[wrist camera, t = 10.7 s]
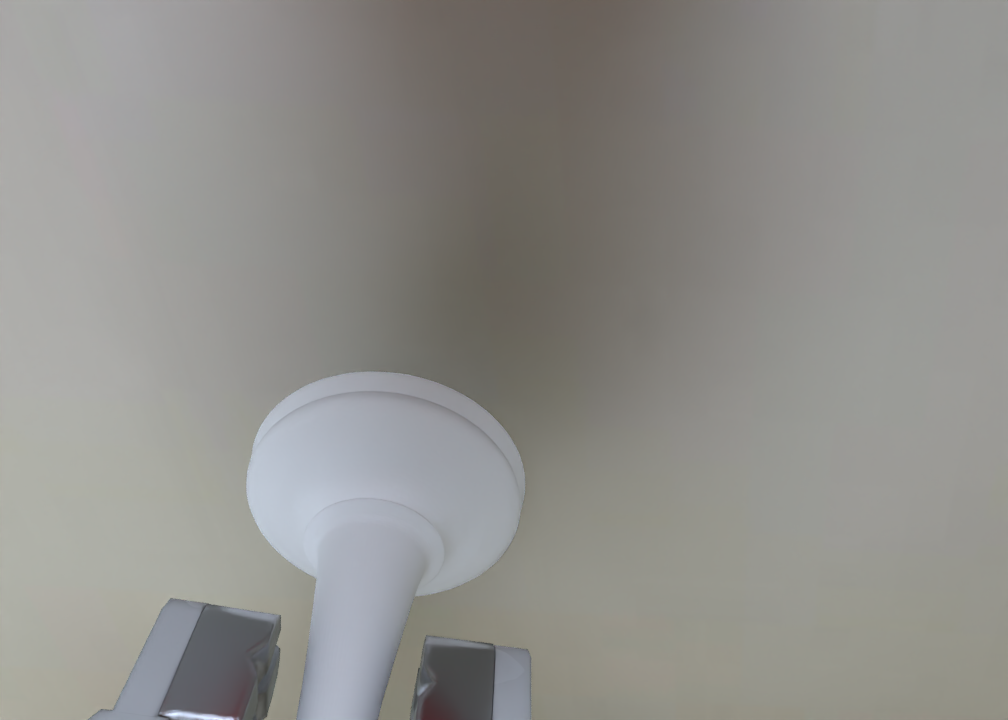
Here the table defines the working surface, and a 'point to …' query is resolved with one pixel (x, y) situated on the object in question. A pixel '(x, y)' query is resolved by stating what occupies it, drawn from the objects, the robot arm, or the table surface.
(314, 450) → the chess piece
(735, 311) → the table surface
